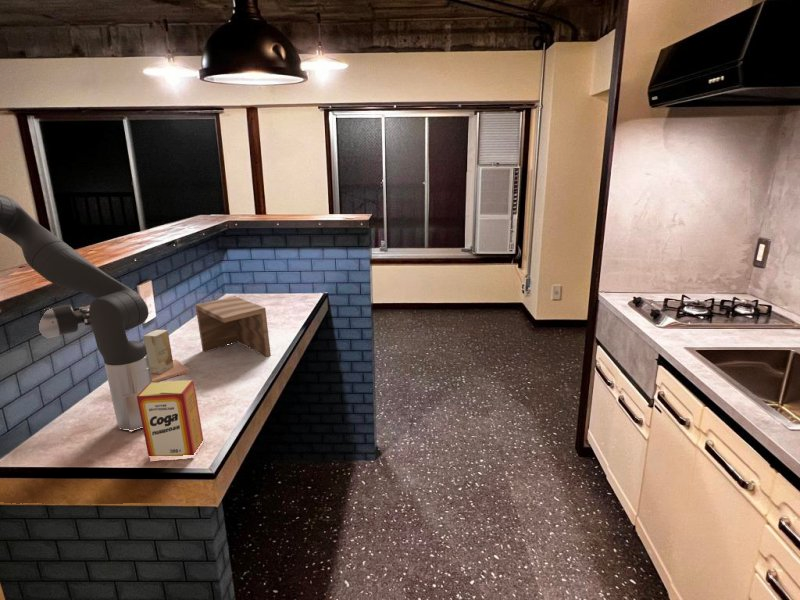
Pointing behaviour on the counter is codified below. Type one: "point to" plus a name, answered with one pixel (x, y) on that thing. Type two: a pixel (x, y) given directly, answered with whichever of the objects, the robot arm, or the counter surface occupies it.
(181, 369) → the terracotta tile
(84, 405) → the counter surface
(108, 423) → the counter surface
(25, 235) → the robot arm
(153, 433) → the baking soda box
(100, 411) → the counter surface
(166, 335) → the skincare box
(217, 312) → the walnut shelf
